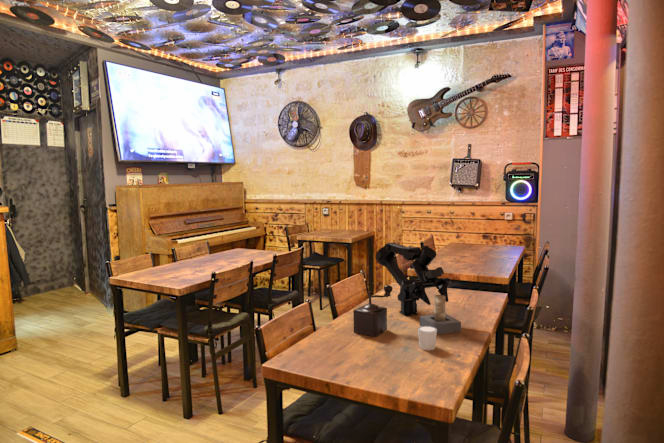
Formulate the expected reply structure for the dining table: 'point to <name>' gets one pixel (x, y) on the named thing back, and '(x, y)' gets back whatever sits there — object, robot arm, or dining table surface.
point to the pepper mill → (371, 316)
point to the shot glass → (427, 337)
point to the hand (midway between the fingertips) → (438, 303)
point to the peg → (439, 308)
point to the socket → (441, 324)
